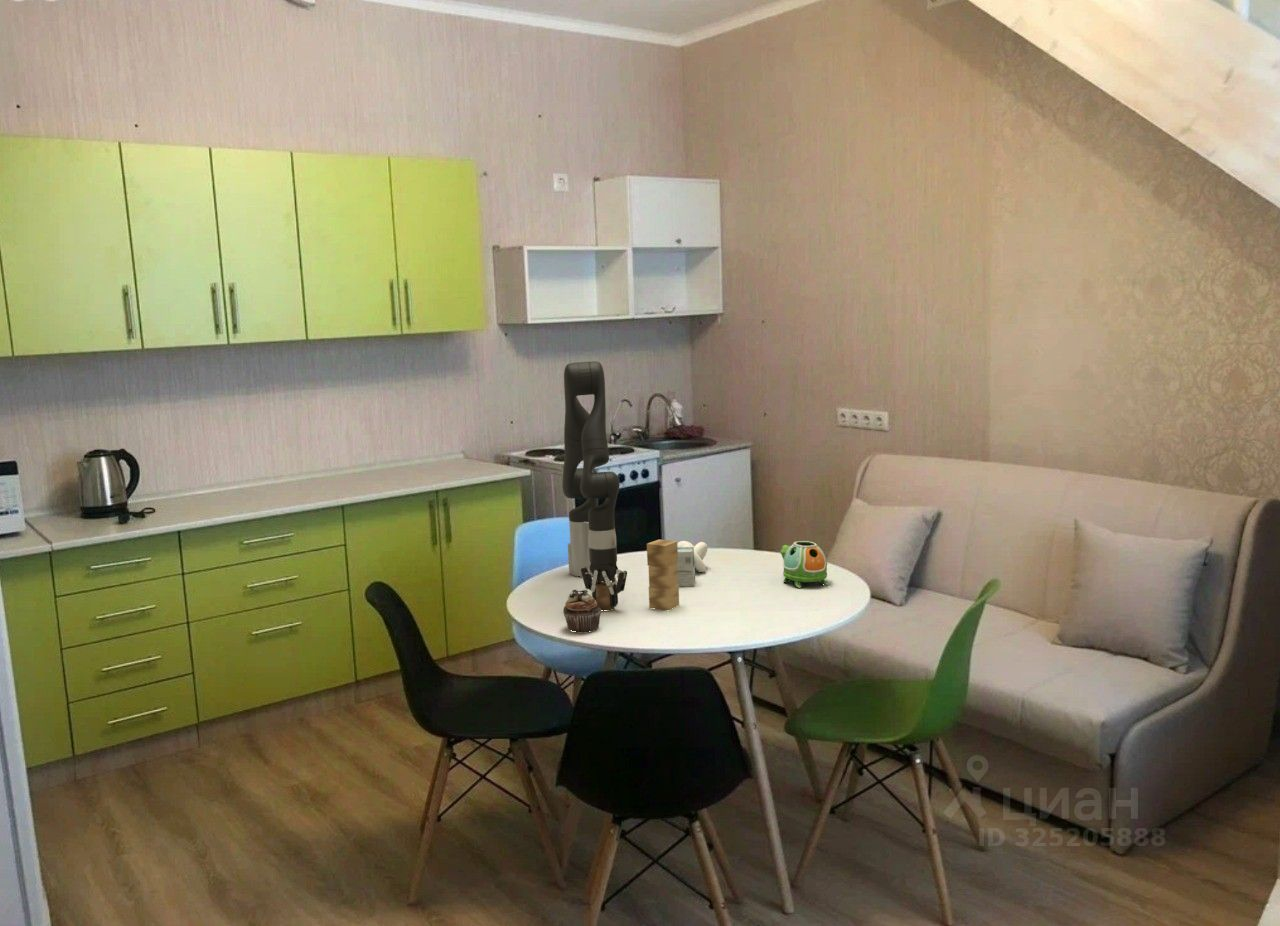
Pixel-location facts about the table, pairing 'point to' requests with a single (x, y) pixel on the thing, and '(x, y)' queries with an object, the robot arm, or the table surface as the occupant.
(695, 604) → the table surface
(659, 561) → the tower top
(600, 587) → the walnut cylinder
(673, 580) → the tower mid
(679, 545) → the white knot sculpture
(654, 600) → the tower base
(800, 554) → the turtle holder
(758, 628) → the table surface
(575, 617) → the cupcake
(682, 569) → the light bulb box
